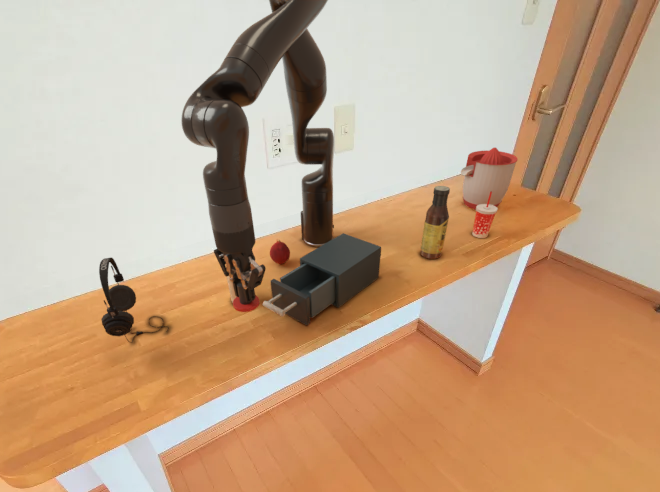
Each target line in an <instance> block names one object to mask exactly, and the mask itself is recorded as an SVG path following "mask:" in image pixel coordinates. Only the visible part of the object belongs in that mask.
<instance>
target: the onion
mask: <svg viewBox="0 0 660 492" xmlns="http://www.w3.org/2000/svg"><path fill="white" fill-rule="evenodd" d="M269 257H270V259H271V260H272V261H273V262H274V263H276V264H278V265H283V264H285V263H286V262H287V261H289V259H290V257H291V250H290V248H289V246H288V245H287V244H286V243H285V242H283V241H281V240H280V239H279V238H277V239H276V242H274V243H273V244H272V245H271V247H270V249H269Z"/></svg>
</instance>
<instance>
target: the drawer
mask: <svg viewBox="0 0 660 492" xmlns="http://www.w3.org/2000/svg"><path fill="white" fill-rule="evenodd" d="M269 282H270V290H271V291H270V292H271V297H272V298H270V299H268V300H263V302H262V306H263V307H264V308H266V309H268V310H270V311H271V312H273V313H274V314H277V315H278V316H280V317H285V315H287V316H289V317H291V318H292V319H295V320H296V321H298V322H300V323H301V324H303V325H305V326H310V324H311V319H313V318H315V317H316V316H317V315H319V314H321V312H323V311H324V310H326V309H327V308H328V307H330V306H331V305H332V303H334V302H335V301H336V277H335V276H333V275H331V274H328V273H326V272H324V271H322V270H319V269H317V268H315V267H313V266H310V265H308V264H306V263H304V264H303V265H301V266H300V265H299V266H297V267H295V268H294V269H292V270H290V271H289V272H287V273H285V274H284V275H282V276H281V277H280V278H279V280H278V279H276V278H272V279H270V281H269Z"/></svg>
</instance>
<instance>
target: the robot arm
mask: <svg viewBox="0 0 660 492" xmlns="http://www.w3.org/2000/svg"><path fill="white" fill-rule="evenodd" d="M328 1H329V0H268V2H269V6H270V10H271V13H269V14H268V15H266V16H265V17H262V18H261V19H260V20H257V21H255V23H253V24H251V25H250V26H249V27H247V28H246V29H245V30H244V31H243V32H242V33H241V34H240V35H239V36H238V37H237V38H236V40H234V42H233V45H232V46H231V47H230V49H229V51H228V52H227V54H226V56H225V57H224V59H223V61H222V63H221V65H220V67H218V69H217V70H215V71H214V72H213V73H211V75H210V76H208V77H207V79H205V80H204V81H203V82H202V83H201V84H200V85H199V86H198V87H197V88H196V89H195V90H194V91H193V92H192V93H191V94H190V96H189V97H188V98H187V100H186V101H185V104H184V106H183V109H182V111H181V119H180V120H181V122H180V123H181V128H182V131H183V133H184V136H185V137H186V138H187V140H188V141H190V142H191V143H192V144H194V145H196V146H199V147H203V148H204V147H205V148H210V149H215V150H216V160H214V161H210V162H209V163H207V164H206V165H205V166H204V167H203V169H202V180H203V185H204V190H205V194H206V199H207V205H208V206H207V207H208V215H209V220H210V225H211V229H212V234H213V240H214V245H215V247H216V248H215V249H214V250H213V254H214V256H215V258H216V260H217V263H218V264H219V266H220V268H221V271H222V273H223V275H224V276H225V277H226V278H227V276H229V278H230V281H231V282H233V287H234V291H235V296H237V297H239V295H238V289H237V283H238V282H239V281H241V282H242V286H243V292H244V298H245V302H247V303H250V302H251V301H253V300H254V299H255V297H256V296H257V295H256V288H258V287H259V286H260V285H262V282H263V280H264V275H265V273H266V269H267V268H266V266H265V264H259V263H258V262H257V261H256V256H255V255H254V252H253V248H254V247H255V244H256V234H255V228H254V227H255V226H254V220H253V211H252V206H251V203H250V199H249V194H248V188H247V180H246V164H247V156H248V147H249V140H250V126H249V121H248V117H247V115H246V113H245V111H244V109H243V108H244V107H248V106H252V105H253V104H254V103H255V102H256V101H257V99H258V98H259V96H260V94H262V91H263V89H264V88H265V86H266V84H267V83H268V81H269V79H270V77H271V76H272V75H273V72H274V70H275V69H276V67H277V65H278V64H279V63H280V61H281V60H282V65H283V66H282V67H283V75H284V76H283V77H284V83H285V89H286V93H287V100H288V104H289V110H290V115H291V123H292V124H291V126H292V136H293V146H294V155H295V158H296V161H297V162H298V163H299V164H300V165H312V166H313V165H314V166H315V165H321V166H320V168H318V169H317V170H315V171H313V172H309V173H307V174H305V175H304V176H303V177H302V178H301V200H302V210H301V211H300V227H301V228H300V229H301V240H303V242H304V244H305V245H307V246H309V247H312V248H313V247H314V248H318V247H320V246H322V245H324V244H325V243H327V242H329V241H330V240H332V239H334V229H335V225H334V156H335V155H334V154H335V136H334V135H335V134H334V132H333V130H332V129H331V128H330V127H308V125H309V123H310V122H311V120H312V119H313V118H314V117H315V115H316V114H317V112H318V111H320V108H321V107H322V105H323V104H324V101H325V99H326V98H327V92H328V82H327V81H328V79H327V65H326V61H325V58H324V56H323V53H322V52H321V50H320V48H319V46H318V44H317V42H316V41H315V39H314V37H313V36H312V34H311V32H310V31H309V27H310V26H311V24H313V22H314V21H315V20H316V18H317V17H318V16H319V15H320V14H321V12H322V11H323V10H324V9H325V7H326V6H327V3H328ZM248 277H249V281H248V282H247V281H246V279H247V278H248ZM255 295H256V296H255Z"/></svg>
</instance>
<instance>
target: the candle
mask: <svg viewBox="0 0 660 492" xmlns="http://www.w3.org/2000/svg"><path fill="white" fill-rule="evenodd" d="M226 280H227V284H228V290H229V296H230V300H231V303H232V304H233V300H234V299H235V298H236V297H237V296H235V291H234V287H233V282H231V281H230V278H229V276H227V277H226ZM246 281H249V277H248V278H247V279H246Z"/></svg>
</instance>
